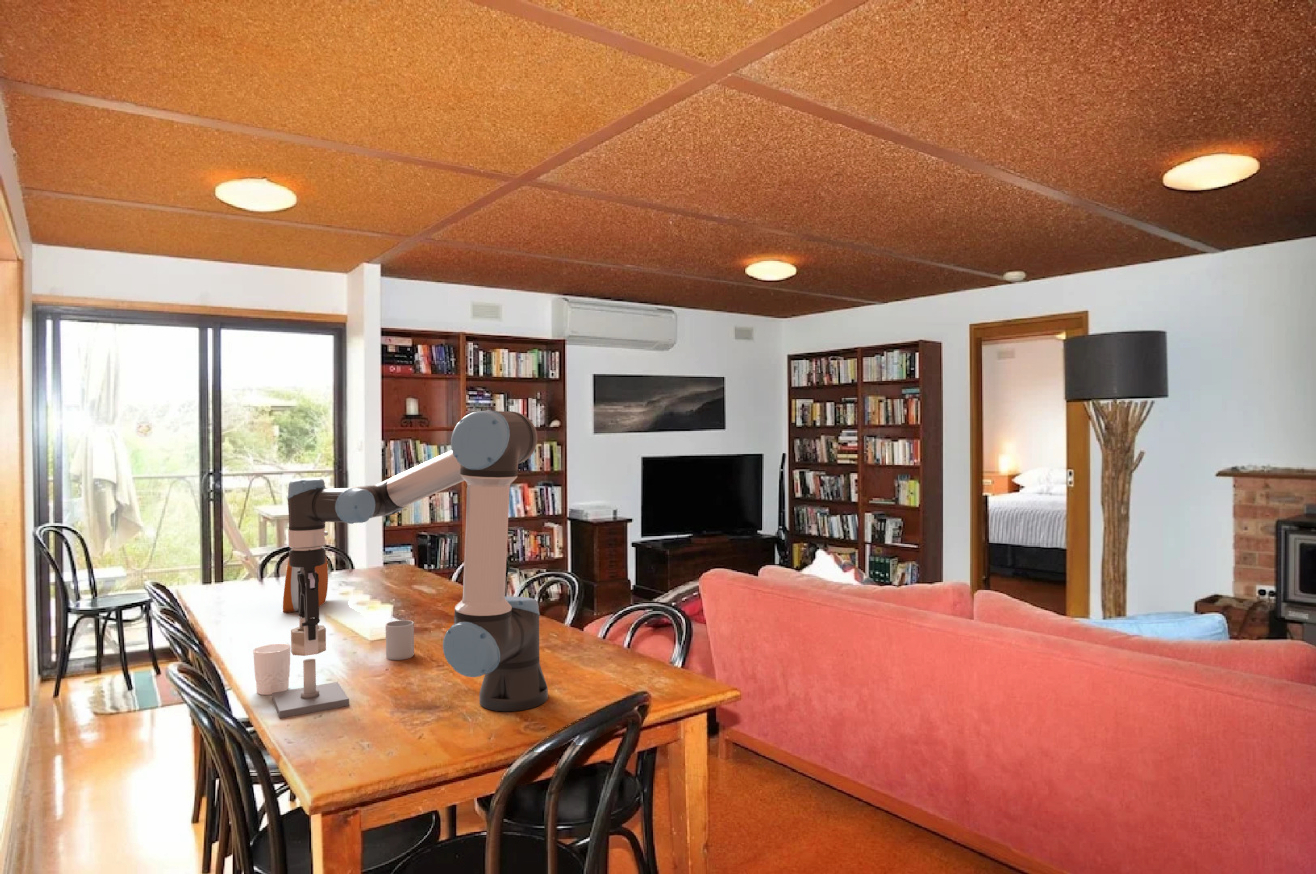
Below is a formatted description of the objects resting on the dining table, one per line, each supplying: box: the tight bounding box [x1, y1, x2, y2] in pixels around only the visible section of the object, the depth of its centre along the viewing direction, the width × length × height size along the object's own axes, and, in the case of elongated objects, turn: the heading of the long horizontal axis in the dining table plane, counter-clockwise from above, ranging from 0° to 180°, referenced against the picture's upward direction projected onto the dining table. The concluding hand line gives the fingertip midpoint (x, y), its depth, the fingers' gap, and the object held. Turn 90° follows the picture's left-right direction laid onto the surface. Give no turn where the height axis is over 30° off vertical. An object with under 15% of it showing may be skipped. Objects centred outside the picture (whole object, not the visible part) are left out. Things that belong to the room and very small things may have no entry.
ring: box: [290, 624, 327, 657], centre depth 178 cm, size 7×7×5 cm
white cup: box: [252, 643, 291, 696], centre depth 187 cm, size 8×8×10 cm
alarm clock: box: [282, 557, 329, 613], centre depth 276 cm, size 22×10×23 cm, turn 6°
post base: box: [271, 658, 350, 719], centre depth 179 cm, size 14×14×10 cm
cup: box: [385, 619, 415, 661], centre depth 215 cm, size 7×10×9 cm
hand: (308, 649), depth 179 cm, fingers closed on ring, 7 cm apart
